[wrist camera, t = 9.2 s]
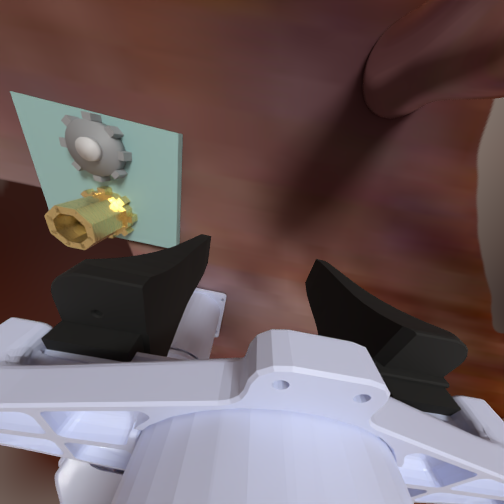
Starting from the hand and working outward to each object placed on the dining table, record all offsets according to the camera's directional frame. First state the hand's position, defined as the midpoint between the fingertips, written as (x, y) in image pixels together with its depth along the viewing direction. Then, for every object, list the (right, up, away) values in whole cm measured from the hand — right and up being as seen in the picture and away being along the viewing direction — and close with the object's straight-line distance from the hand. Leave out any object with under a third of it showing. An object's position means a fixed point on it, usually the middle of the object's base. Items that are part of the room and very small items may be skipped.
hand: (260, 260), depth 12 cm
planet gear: (-16, +5, +8) cm, 18 cm away
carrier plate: (-15, +8, +7) cm, 19 cm away
